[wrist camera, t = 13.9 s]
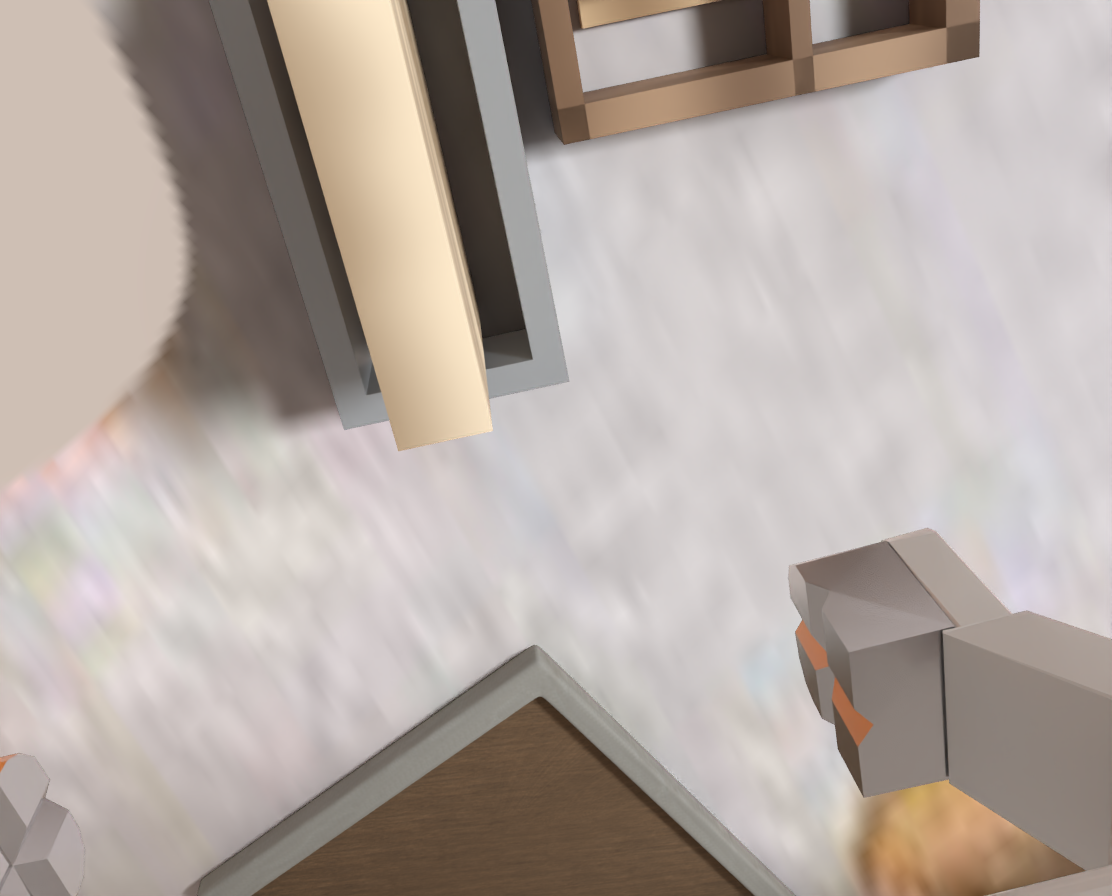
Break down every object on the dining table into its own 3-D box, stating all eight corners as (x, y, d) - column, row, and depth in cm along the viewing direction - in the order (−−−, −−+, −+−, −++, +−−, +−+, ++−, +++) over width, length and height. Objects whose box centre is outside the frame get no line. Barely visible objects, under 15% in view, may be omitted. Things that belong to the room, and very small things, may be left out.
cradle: (454, -183, 27) (455, -201, 24) (558, 349, 34) (569, 381, 31) (191, -129, 27) (164, -141, 24) (351, 394, 34) (344, 429, 31)
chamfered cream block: (387, -86, 28) (361, -115, 19) (478, 308, 33) (492, 431, 24) (304, -69, 28) (241, -90, 19) (409, 323, 33) (398, 451, 24)
